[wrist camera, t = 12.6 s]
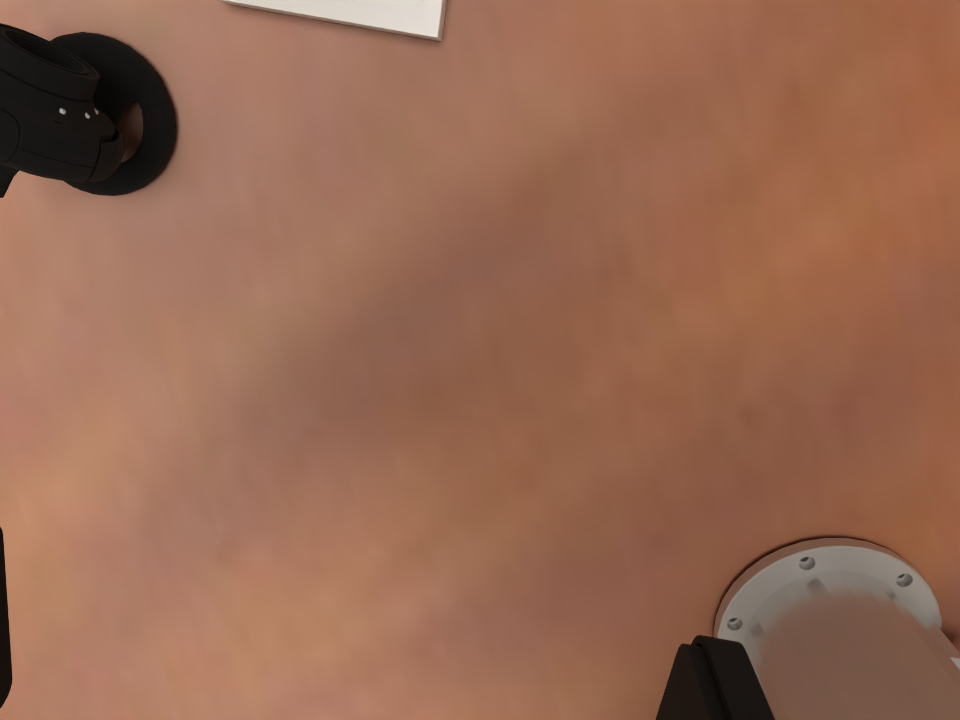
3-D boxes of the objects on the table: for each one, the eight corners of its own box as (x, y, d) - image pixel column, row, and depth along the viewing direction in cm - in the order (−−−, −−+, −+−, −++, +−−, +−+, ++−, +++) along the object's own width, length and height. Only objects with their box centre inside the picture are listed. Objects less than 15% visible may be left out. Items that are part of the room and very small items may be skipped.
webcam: (206, 91, 35) (88, 80, 25) (148, 223, 37) (19, 259, 27) (57, -1, 34) (-124, -47, 24) (7, 141, 36) (-177, 149, 26)
